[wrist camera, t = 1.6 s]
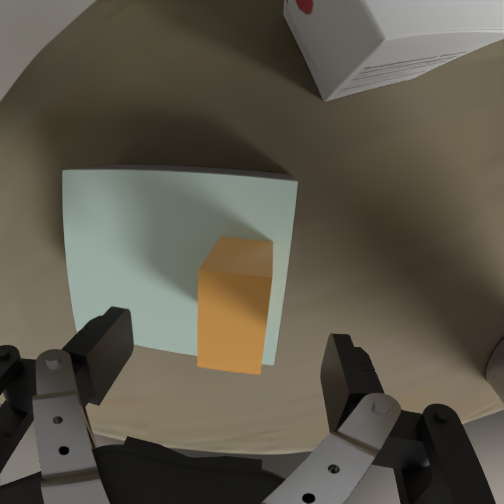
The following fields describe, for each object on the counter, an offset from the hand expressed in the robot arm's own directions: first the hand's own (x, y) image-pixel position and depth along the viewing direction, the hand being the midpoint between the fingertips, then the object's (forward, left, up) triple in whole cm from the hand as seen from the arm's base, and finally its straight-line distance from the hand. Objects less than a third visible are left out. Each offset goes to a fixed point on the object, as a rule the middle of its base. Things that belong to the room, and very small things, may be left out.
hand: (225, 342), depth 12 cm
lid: (+5, 0, -9) cm, 10 cm away
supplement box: (-7, -18, -15) cm, 24 cm away
